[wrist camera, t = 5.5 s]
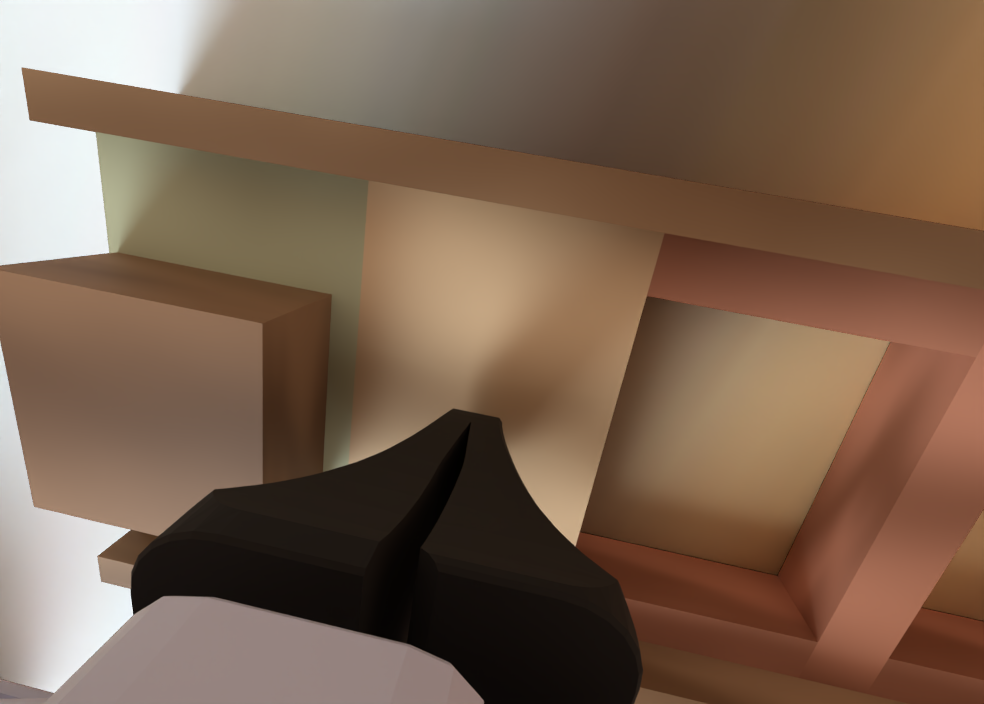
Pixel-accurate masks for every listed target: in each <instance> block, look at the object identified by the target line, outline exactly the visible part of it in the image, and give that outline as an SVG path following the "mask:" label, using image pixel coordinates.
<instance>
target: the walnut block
mask: <svg viewBox="0 0 984 704" xmlns="http://www.w3.org/2000/svg"><path fill="white" fill-rule="evenodd" d="M331 302H332V294H327V293H322V292H317V291H312V290H307V289H301V288H296V287H291V286H286V285H281V284H276V283H271V282H266V281H261V280H256V279H251V278H245V277H240V276H235V275H230V274H225V273H220V272H215V271H210V270H205V269H200V268H195V267H190V266H184V265H179V264H174V263H169V262H164V261H159V260H154V259H149V258H144V257H139V256H134V255H128V254H123V253H118V252H116V253H107V254H98V255H90V256H81V257H72V258H63V259H54V260H46V261H37V262H28V263H19V264H10V265H2V266H0V341H1V346H2V351H3V356H4V361H5V366H6V371H7V376H8V381H9V386H10V391H11V396H12V400H13V405H14V410H15V415H16V420H17V425H18V430H19V435H20V440H21V445H22V450H23V455H24V460H25V464H26V469H27V474H28V479H29V484H30V489H31V494H32V499H33V504H34V507H38V508H42V509H46V510H50V511H54V512H59V513H63V514H67V515H71V516H76V517H80V518H84V519H88V520H92V521H97V522H101V523H105V524H109V525H113V526H118V527H122V528H126V529H130V530H135V531H139V532H143V533H147V534H151V535H156V536H159V535H160V534H161V533H163V532H164V531H165V530H166V529H167V528H168V527H170V526H171V525H172V524H173V523H174V522H176V521H177V520H178V519H179V518H180V517H181V516H183V515H184V514H185V513H186V512H187V511H188V510H190V509H191V508H192V507H193V506H194V505H196V504H197V503H198V502H199V501H200V500H202V499H203V498H204V497H205V496H207V495H208V494H209V493H211V492H212V491H213V490H214V489H224V488H233V487H242V486H251V485H259V484H267V483H274V482H280V481H285V480H290V479H296V478H301V477H305V476H310V475H314V474H318V473H322V472H323V459H324V439H325V420H326V400H327V381H328V361H329V341H330V322H331Z"/></svg>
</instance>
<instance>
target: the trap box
mask: <svg viewBox="0 0 984 704" xmlns="http://www.w3.org/2000/svg"><path fill="white" fill-rule="evenodd" d="M22 74H23V80H24V86H25V93H26V99H27V106H28V112H29V119H30V120H31V121H37V122H43V123H48V124H54V125H59V126H65V127H71V128H76V129H82V130H88V131H93V132H96V138H97V146H98V155H99V164H100V173H101V182H102V191H103V200H104V209H105V218H106V226H107V235H108V244H109V253H116V252H118V253H123V254H128V255H134V256H139V257H144V258H149V259H154V260H159V261H164V262H169V263H174V264H179V265H184V266H190V267H195V268H200V269H205V270H210V271H215V272H220V273H225V274H230V275H235V276H240V277H245V278H251V279H256V280H261V281H266V282H271V283H276V284H281V285H286V286H291V287H296V288H301V289H307V290H312V291H317V292H322V293H327V294H332V302H331V322H330V341H329V361H328V381H327V400H326V420H325V439H324V459H323V472H325V471H329V470H332V469H335V468H338V467H342V466H345V465H348V464H352V463H355V462H357V461H360V460H363V459H365V458H368V457H370V456H373V455H375V454H378V453H380V452H382V451H384V450H386V449H388V448H390V447H392V446H394V445H396V444H398V443H400V442H402V441H403V440H405V439H407V438H409V437H411V436H412V435H414V434H415V433H417V432H419V431H420V430H422V429H423V428H425V427H426V426H428V425H429V424H431V423H432V422H434V421H435V420H437V419H438V418H439V417H441V416H442V415H444V414H445V413H447V412H448V411H450V410H451V409H453V408H454V409H459V410H464V411H469V412H474V413H478V414H483V415H488V416H493V417H498V418H500V420H501V421H502V428H503V434H504V438H505V441H506V444H507V447H508V450H509V453H510V455H511V458H512V461H513V463H514V465H515V467H516V470H517V472H518V474H519V476H520V478H521V480H522V481H523V483H524V485H525V487H526V489H527V490H528V492H529V494H530V495H531V497H532V498H533V500H534V501H535V503H536V504H537V506H538V507H539V508H540V510H541V511H542V512H543V513H544V514H545V515H546V517H547V518H548V519H549V520H550V521H551V522H552V524H553V525H554V526H555V527H556V528H557V529H558V530H559V531H560V532H561V533H562V534H563V535H564V536H565V537H566V538H567V539H568V540H569V541H570V542H571V543H572V544H573V545H574V546H575V547H577V548H578V549H579V550H580V551H581V552H582V553H583V554H584V555H586V556H587V557H588V558H589V559H591V560H592V561H593V562H595V563H596V564H597V565H599V566H600V567H601V568H602V569H604V570H605V571H606V572H608V573H609V574H610V575H612V576H613V577H614V578H615V579H617V580H618V582H619V584H620V586H621V589H622V592H623V594H624V597H625V600H626V603H627V606H628V608H629V611H630V614H631V617H632V620H633V623H634V626H635V630H636V634H637V638H638V642H639V647H640V653H641V661H642V666H643V675H642V680H641V685H640V690H639V692H638V695H637V698H636V700H635V703H634V704H984V622H983V621H979V620H974V619H970V618H965V617H961V616H956V615H951V614H947V613H942V612H938V611H933V610H929V609H924V608H921V607H922V605H923V604H924V602H925V601H926V599H927V598H928V596H929V594H930V593H931V591H932V590H933V588H934V587H935V585H936V583H937V582H938V580H939V579H940V577H941V576H942V574H943V572H944V571H945V569H946V568H947V566H948V565H949V563H950V561H951V560H952V558H953V557H954V555H955V554H956V552H957V550H958V549H959V547H960V546H961V544H962V543H963V541H964V539H965V538H966V536H967V535H968V533H969V532H970V530H971V528H972V527H973V525H974V524H975V522H976V521H977V519H978V517H979V516H980V514H981V513H982V511H983V510H984V231H980V230H975V229H969V228H963V227H957V226H951V225H945V224H939V223H933V222H927V221H922V220H916V219H910V218H904V217H898V216H892V215H886V214H880V213H875V212H869V211H863V210H857V209H851V208H845V207H839V206H833V205H828V204H822V203H816V202H810V201H804V200H798V199H792V198H786V197H780V196H775V195H769V194H763V193H757V192H751V191H745V190H739V189H733V188H728V187H722V186H716V185H710V184H704V183H698V182H692V181H686V180H680V179H675V178H669V177H663V176H657V175H651V174H645V173H639V172H633V171H628V170H622V169H616V168H610V167H604V166H598V165H592V164H586V163H581V162H575V161H569V160H563V159H557V158H551V157H545V156H539V155H533V154H528V153H522V152H516V151H510V150H504V149H498V148H492V147H486V146H481V145H475V144H469V143H463V142H457V141H451V140H445V139H439V138H433V137H428V136H422V135H416V134H410V133H404V132H398V131H392V130H386V129H381V128H375V127H369V126H363V125H357V124H351V123H345V122H339V121H333V120H328V119H322V118H316V117H310V116H304V115H298V114H292V113H286V112H281V111H275V110H269V109H263V108H257V107H251V106H245V105H239V104H234V103H228V102H222V101H216V100H210V99H204V98H198V97H192V96H186V95H181V94H175V93H169V92H163V91H157V90H151V89H145V88H139V87H134V86H128V85H122V84H116V83H110V82H104V81H98V80H92V79H86V78H81V77H75V76H69V75H63V74H57V73H51V72H45V71H39V70H34V69H28V68H22ZM647 296H650V297H655V298H660V299H666V300H671V301H677V302H682V303H687V304H693V305H698V306H703V307H709V308H714V309H719V310H725V311H730V312H735V313H741V314H746V315H751V316H757V317H762V318H767V319H773V320H778V321H784V322H789V323H794V324H800V325H805V326H810V327H816V328H821V329H826V330H832V331H837V332H842V333H848V334H853V335H858V336H864V337H869V338H874V339H880V340H885V341H890V344H889V346H888V348H887V351H886V353H885V355H884V357H883V359H882V361H881V363H880V365H879V367H878V369H877V371H876V373H875V375H874V377H873V380H872V382H871V384H870V386H869V388H868V390H867V392H866V394H865V396H864V398H863V400H862V402H861V404H860V406H859V409H858V411H857V413H856V415H855V417H854V419H853V421H852V423H851V425H850V427H849V429H848V431H847V433H846V435H845V438H844V440H843V442H842V444H841V446H840V448H839V450H838V452H837V454H836V456H835V458H834V460H833V462H832V464H831V467H830V469H829V471H828V473H827V475H826V477H825V479H824V481H823V483H822V485H821V487H820V489H819V491H818V493H817V496H816V498H815V500H814V502H813V504H812V506H811V508H810V510H809V512H808V514H807V516H806V518H805V520H804V522H803V525H802V527H801V529H800V531H799V533H798V535H797V537H796V539H795V541H794V543H793V545H792V547H791V549H790V551H789V554H788V556H787V558H786V560H785V562H784V564H783V566H782V568H781V570H780V572H779V574H778V576H776V575H771V574H767V573H762V572H758V571H753V570H749V569H744V568H740V567H735V566H731V565H726V564H721V563H717V562H712V561H708V560H703V559H699V558H694V557H690V556H685V555H681V554H676V553H672V552H667V551H663V550H658V549H654V548H649V547H645V546H640V545H636V544H631V543H627V542H622V541H618V540H613V539H609V538H604V537H600V536H595V535H591V534H586V533H582V532H580V529H581V525H582V522H583V518H584V515H585V511H586V508H587V504H588V501H589V497H590V494H591V490H592V487H593V483H594V480H595V476H596V473H597V469H598V466H599V462H600V459H601V455H602V452H603V448H604V444H605V441H606V437H607V434H608V430H609V427H610V423H611V420H612V416H613V413H614V409H615V406H616V402H617V399H618V395H619V392H620V388H621V385H622V381H623V378H624V374H625V371H626V367H627V364H628V360H629V357H630V353H631V350H632V346H633V342H634V339H635V335H636V332H637V328H638V325H639V321H640V318H641V314H642V311H643V307H644V304H645V300H646V297H647ZM157 537H158V536H156V535H151V534H147V533H143V532H139V531H135V530H130V531H129V532H128V533H127V534H125V535H124V536H123V537H121V538H120V539H119V540H118V541H116V542H115V543H114V544H112V545H111V546H110V547H109V548H107V549H106V550H105V551H103V552H102V553H101V554H100V555H98V556H97V557H98V563H99V570H100V576H101V582H105V583H109V584H113V585H117V586H121V587H126V588H130V589H131V571H132V569H133V566H134V564H135V562H136V559H137V557H138V555H139V554H140V553H141V552H142V551H143V550H144V549H145V548H146V547H147V546H148V545H149V544H150V543H151V542H152V541H153V540H154V539H156V538H157Z"/></svg>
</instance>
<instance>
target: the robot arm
mask: <svg viewBox="0 0 984 704" xmlns="http://www.w3.org/2000/svg"><path fill="white" fill-rule="evenodd" d="M131 599H132V607H133V616H132V617H131V618H130V619H129V620H128V621H127V622H126V623H125V624H124V625H123V626H122V627H121V628H120V629H119V630H118V631H117V632H116V633H115V634H114V635H113V636H112V637H111V638H110V639H109V640H108V641H107V642H106V643H105V644H104V645H103V646H102V647H101V648H100V649H99V650H98V651H97V652H96V653H95V654H94V655H93V656H92V657H91V658H89V659H88V660H87V661H86V662H85V663H84V664H83V665H82V666H81V667H80V668H79V669H78V670H77V671H76V672H75V673H74V674H73V675H72V676H71V677H70V678H69V679H68V680H67V681H66V682H65V683H64V684H63V685H62V686H61V687H60V688H59V689H58V690H57V691H56V692H55V693H51V692H48V691H44V690H40V689H36V688H32V687H29V686H25V685H21V684H17V683H13V682H10V681H6V680H2V679H0V704H634V703H635V700H636V698H637V695H638V692H639V690H640V685H641V680H642V675H643V666H642V661H641V653H640V647H639V642H638V638H637V634H636V630H635V626H634V623H633V620H632V617H631V614H630V611H629V608H628V606H627V603H626V600H625V597H624V594H623V592H622V589H621V586H620V584H619V582H618V580H617V579H615V578H614V577H613V576H612V575H610V574H609V573H608V572H606V571H605V570H604V569H602V568H601V567H600V566H599V565H597V564H596V563H595V562H593V561H592V560H591V559H589V558H588V557H587V556H586V555H584V554H583V553H582V552H581V551H580V550H579V549H578V548H577V547H575V546H574V545H573V544H572V543H571V542H570V541H569V540H568V539H567V538H566V537H565V536H564V535H563V534H562V533H561V532H560V531H559V530H558V529H557V528H556V527H555V526H554V525H553V524H552V522H551V521H550V520H549V519H548V518H547V517H546V515H545V514H544V513H543V512H542V511H541V510H540V508H539V507H538V506H537V504H536V503H535V501H534V500H533V498H532V497H531V495H530V494H529V492H528V490H527V489H526V487H525V485H524V483H523V481H522V480H521V478H520V476H519V474H518V472H517V470H516V467H515V465H514V463H513V461H512V458H511V455H510V453H509V450H508V447H507V444H506V441H505V438H504V434H503V428H502V421H501V420H500V418H498V417H493V416H488V415H483V414H478V413H474V412H469V411H464V410H459V409H454V408H453V409H451V410H450V411H448V412H447V413H445V414H444V415H442V416H441V417H439V418H438V419H437V420H435V421H434V422H432V423H431V424H429V425H428V426H426V427H425V428H423V429H422V430H420V431H419V432H417V433H415V434H414V435H412V436H411V437H409V438H407V439H405V440H403V441H402V442H400V443H398V444H396V445H394V446H392V447H390V448H388V449H386V450H384V451H382V452H380V453H378V454H375V455H373V456H370V457H368V458H365V459H363V460H360V461H357V462H355V463H352V464H348V465H345V466H342V467H338V468H335V469H332V470H329V471H325V472H322V473H318V474H314V475H310V476H305V477H301V478H296V479H290V480H285V481H280V482H274V483H267V484H259V485H251V486H242V487H233V488H224V489H214V490H213V491H212V492H211V493H209V494H208V495H207V496H205V497H204V498H203V499H202V500H200V501H199V502H198V503H197V504H196V505H194V506H193V507H192V508H191V509H190V510H188V511H187V512H186V513H185V514H184V515H183V516H181V517H180V518H179V519H178V520H177V521H176V522H174V523H173V524H172V525H171V526H170V527H168V528H167V529H166V530H165V531H164V532H163V533H161V534H160V535H159V536H158V537H157V538H156V539H154V540H153V541H152V542H151V543H150V544H149V545H148V546H147V547H146V548H145V549H144V550H143V551H142V552H141V553H140V554H139V555H138V557H137V559H136V562H135V564H134V566H133V569H132V571H131Z"/></svg>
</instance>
